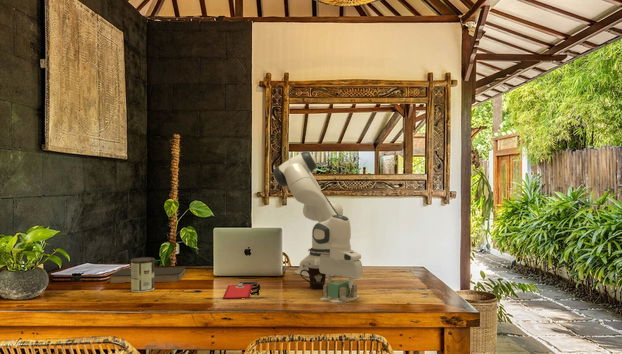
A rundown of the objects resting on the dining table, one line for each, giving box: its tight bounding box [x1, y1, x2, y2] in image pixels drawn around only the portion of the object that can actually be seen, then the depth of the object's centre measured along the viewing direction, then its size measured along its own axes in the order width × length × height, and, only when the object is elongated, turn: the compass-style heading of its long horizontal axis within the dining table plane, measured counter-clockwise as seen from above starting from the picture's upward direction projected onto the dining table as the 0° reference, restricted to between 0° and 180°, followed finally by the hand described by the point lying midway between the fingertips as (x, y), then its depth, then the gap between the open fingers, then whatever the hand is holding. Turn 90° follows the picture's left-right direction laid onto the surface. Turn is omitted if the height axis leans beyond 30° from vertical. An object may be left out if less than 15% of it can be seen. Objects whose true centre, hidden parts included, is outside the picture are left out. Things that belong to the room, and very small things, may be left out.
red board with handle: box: [222, 281, 261, 300], centre depth 217 cm, size 30×3×15 cm
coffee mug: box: [299, 265, 327, 291], centre depth 222 cm, size 12×9×10 cm
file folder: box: [109, 266, 187, 284], centre depth 246 cm, size 33×4×24 cm
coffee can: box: [130, 256, 155, 293], centre depth 218 cm, size 10×10×14 cm
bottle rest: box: [320, 283, 360, 305], centre depth 202 cm, size 10×14×6 cm
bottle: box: [327, 279, 354, 298], centre depth 203 cm, size 5×14×6 cm, turn 141°
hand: (340, 286), depth 202 cm, fingers open, 8 cm apart
